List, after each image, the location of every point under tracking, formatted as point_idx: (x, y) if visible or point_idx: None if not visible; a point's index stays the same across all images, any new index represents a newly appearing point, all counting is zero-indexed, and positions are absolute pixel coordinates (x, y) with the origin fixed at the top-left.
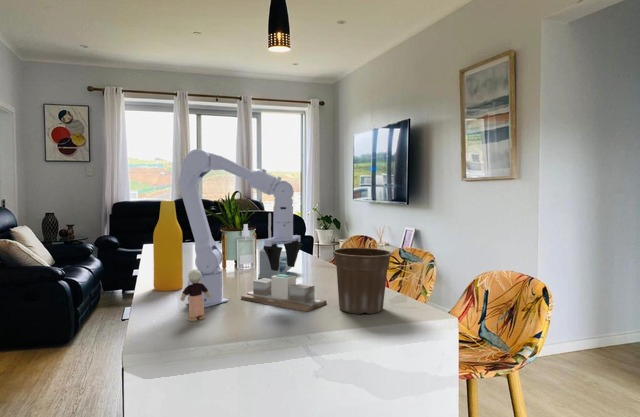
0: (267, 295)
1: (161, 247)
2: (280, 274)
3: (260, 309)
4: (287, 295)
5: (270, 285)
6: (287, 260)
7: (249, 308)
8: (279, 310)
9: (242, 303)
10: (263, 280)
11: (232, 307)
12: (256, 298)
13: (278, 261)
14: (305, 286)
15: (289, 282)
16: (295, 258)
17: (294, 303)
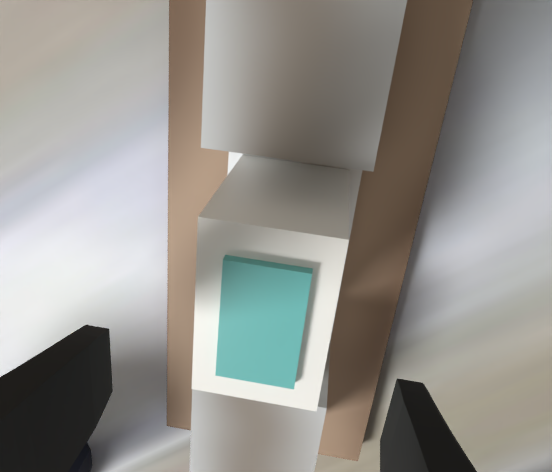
0: None
1: None
2: (238, 369)
3: (540, 255)
4: (348, 180)
5: None
6: (77, 449)
7: (538, 322)
8: (524, 128)
9: (439, 403)
10: (265, 449)
11: (547, 409)
12: (374, 371)
13: (446, 463)
14: (305, 21)
15: (319, 215)
16: (23, 380)
17: (393, 80)
